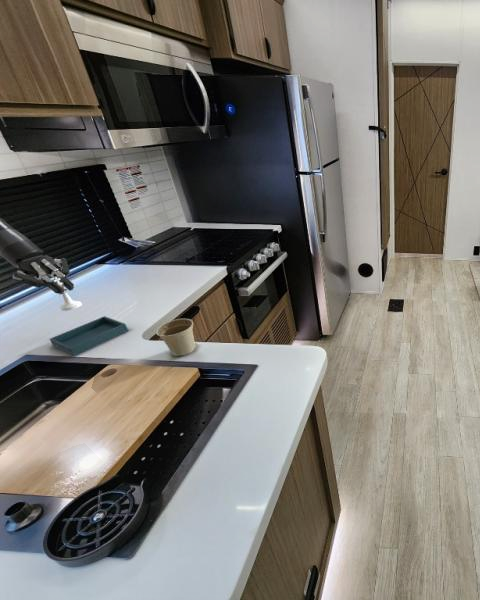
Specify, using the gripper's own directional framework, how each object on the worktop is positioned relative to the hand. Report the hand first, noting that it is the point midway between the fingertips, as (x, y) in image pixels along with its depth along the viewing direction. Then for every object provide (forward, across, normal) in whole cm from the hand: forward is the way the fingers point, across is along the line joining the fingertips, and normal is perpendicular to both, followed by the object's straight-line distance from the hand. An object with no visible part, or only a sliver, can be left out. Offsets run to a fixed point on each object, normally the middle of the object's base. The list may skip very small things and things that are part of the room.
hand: (67, 290), depth 99 cm
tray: (+12, 0, +13) cm, 18 cm away
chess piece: (+3, 0, +6) cm, 6 cm away
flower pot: (+37, +2, -12) cm, 39 cm away
